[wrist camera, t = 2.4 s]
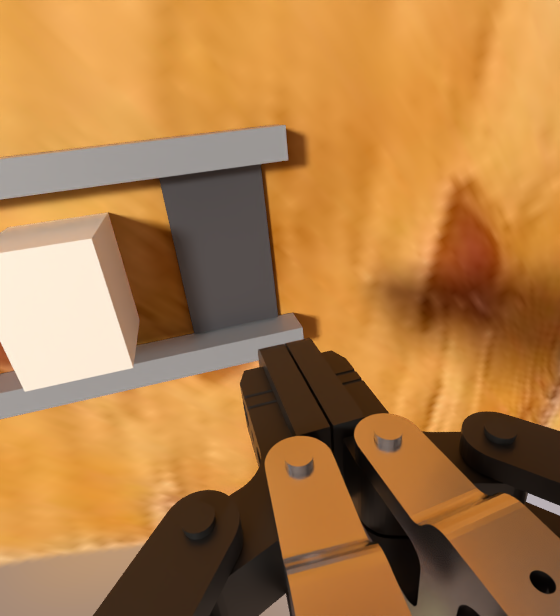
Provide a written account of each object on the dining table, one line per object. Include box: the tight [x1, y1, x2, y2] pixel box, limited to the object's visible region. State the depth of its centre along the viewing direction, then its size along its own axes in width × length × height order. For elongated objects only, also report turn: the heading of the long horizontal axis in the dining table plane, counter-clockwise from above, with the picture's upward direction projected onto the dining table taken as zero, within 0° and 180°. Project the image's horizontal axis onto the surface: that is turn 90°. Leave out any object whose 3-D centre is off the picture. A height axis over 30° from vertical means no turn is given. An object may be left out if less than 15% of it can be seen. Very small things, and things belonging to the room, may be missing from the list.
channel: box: [0, 125, 304, 419], centre depth 20 cm, size 20×12×2 cm, turn 95°
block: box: [0, 213, 140, 392], centre depth 18 cm, size 4×6×5 cm
